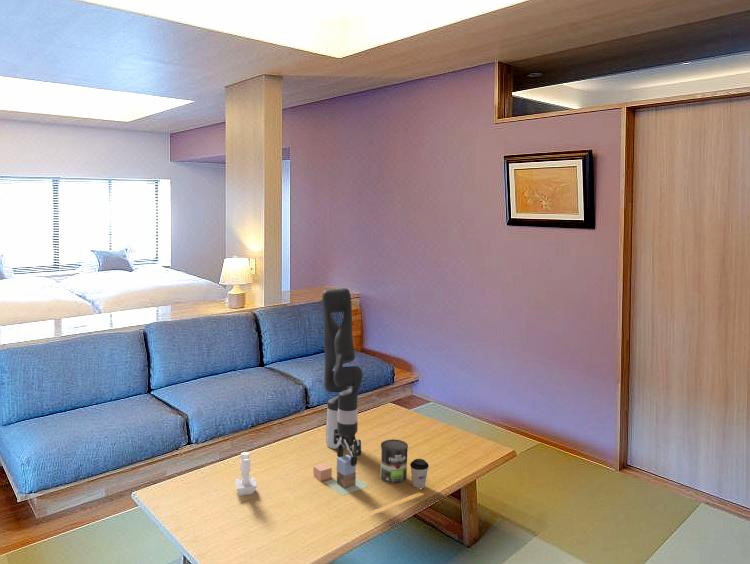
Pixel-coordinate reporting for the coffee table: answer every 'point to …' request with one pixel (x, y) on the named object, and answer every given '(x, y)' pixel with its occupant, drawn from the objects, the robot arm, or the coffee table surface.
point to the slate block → (345, 465)
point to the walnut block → (346, 480)
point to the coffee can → (393, 461)
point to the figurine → (245, 477)
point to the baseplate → (343, 491)
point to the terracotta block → (322, 471)
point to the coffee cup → (419, 472)
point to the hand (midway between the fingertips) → (346, 460)
